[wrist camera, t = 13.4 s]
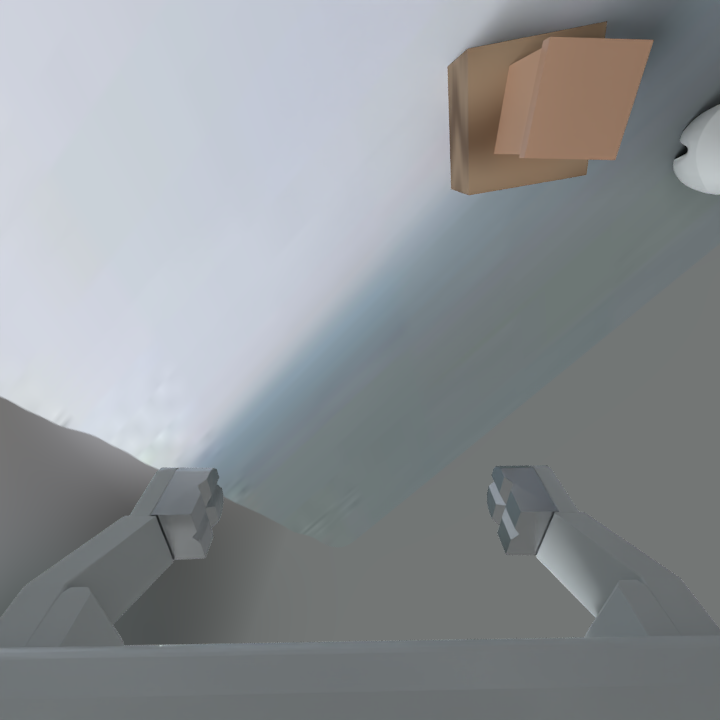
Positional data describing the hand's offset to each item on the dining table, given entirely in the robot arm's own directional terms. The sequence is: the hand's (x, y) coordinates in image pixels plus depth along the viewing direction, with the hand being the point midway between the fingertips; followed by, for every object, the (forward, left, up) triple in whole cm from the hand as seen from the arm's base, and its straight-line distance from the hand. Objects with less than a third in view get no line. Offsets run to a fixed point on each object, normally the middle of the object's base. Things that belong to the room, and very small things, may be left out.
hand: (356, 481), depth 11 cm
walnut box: (-11, +13, -29) cm, 34 cm away
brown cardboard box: (-11, +13, -23) cm, 29 cm away
